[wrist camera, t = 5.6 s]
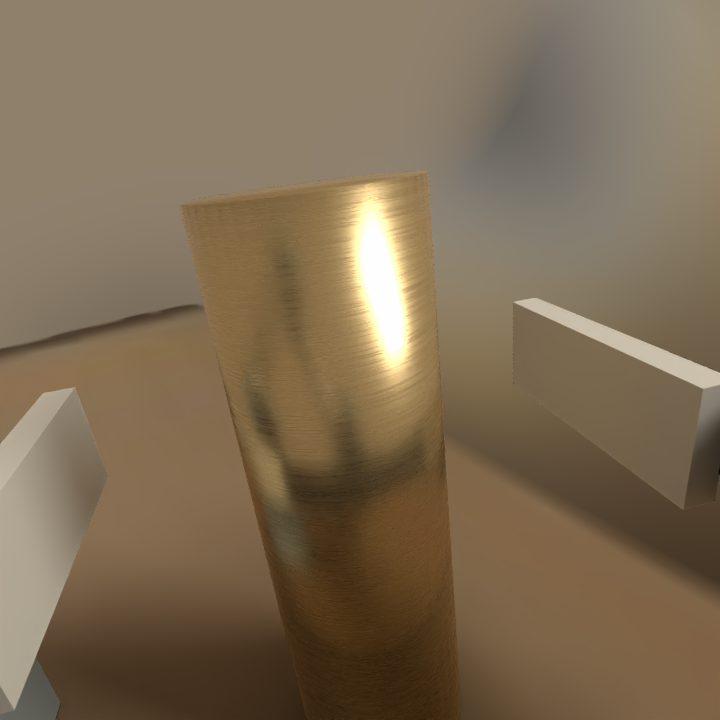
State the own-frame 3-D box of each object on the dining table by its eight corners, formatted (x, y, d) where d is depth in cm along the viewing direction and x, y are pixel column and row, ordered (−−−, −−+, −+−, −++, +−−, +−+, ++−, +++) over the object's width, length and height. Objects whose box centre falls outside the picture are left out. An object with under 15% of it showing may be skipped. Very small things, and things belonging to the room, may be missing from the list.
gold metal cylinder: (321, 815, 12) (164, 212, 6) (297, 653, 16) (188, 198, 10) (489, 753, 13) (472, 169, 7) (426, 613, 17) (386, 171, 11)
